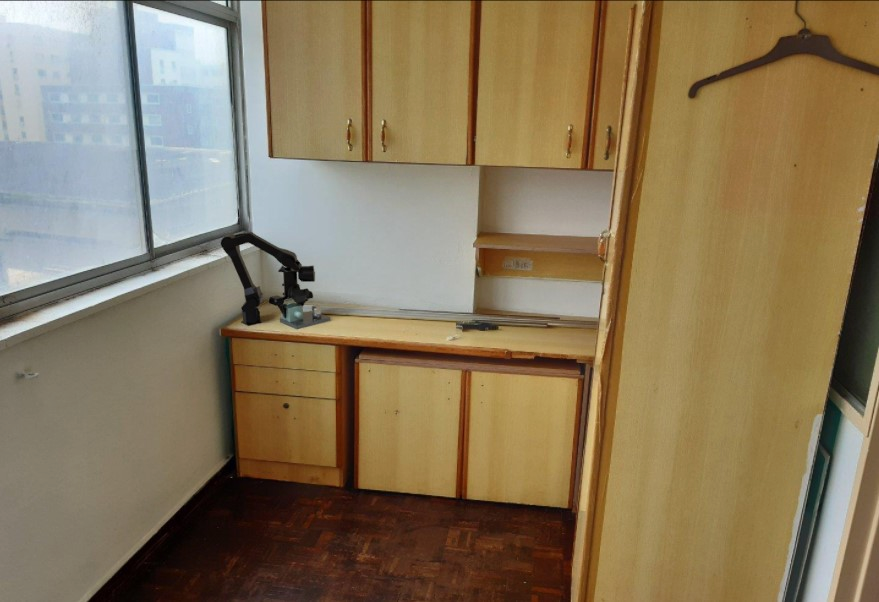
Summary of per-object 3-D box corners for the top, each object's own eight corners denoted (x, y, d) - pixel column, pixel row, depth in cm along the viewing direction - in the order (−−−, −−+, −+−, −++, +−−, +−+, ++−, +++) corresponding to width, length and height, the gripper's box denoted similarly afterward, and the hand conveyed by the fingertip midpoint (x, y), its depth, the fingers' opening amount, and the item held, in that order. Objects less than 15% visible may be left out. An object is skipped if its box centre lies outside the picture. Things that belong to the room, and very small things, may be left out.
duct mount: (296, 329, 270) (295, 314, 268) (279, 321, 278) (279, 307, 277) (329, 320, 281) (329, 306, 279) (313, 313, 290) (312, 300, 288)
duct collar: (294, 315, 283) (294, 302, 281) (307, 320, 276) (306, 307, 274) (281, 318, 278) (280, 305, 277) (294, 323, 272) (293, 310, 270)
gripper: (281, 289, 262) (283, 325, 266) (319, 281, 274) (321, 316, 279) (267, 284, 269) (269, 319, 274) (305, 276, 282) (306, 310, 286)
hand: (292, 316), depth 278 cm, fingers closed on duct collar, 7 cm apart
